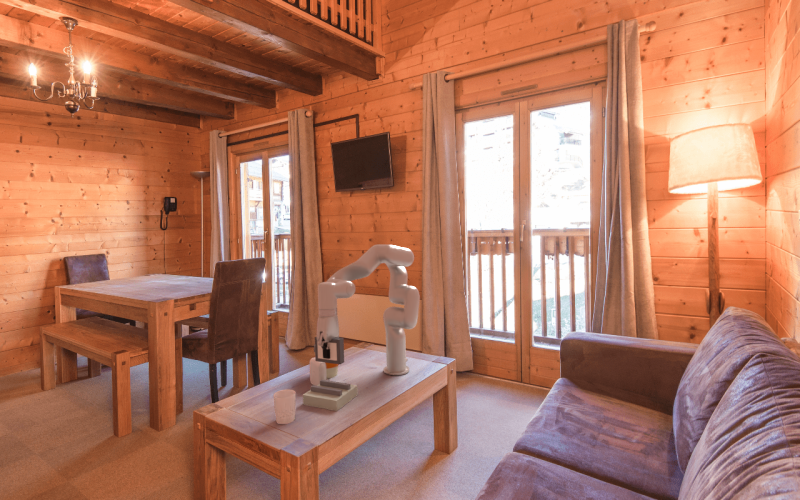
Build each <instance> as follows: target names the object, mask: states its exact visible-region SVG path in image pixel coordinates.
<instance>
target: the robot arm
mask: <svg viewBox="0 0 800 500" xmlns="http://www.w3.org/2000/svg"><path fill="white" fill-rule="evenodd" d="M414 254H415V253H414V252H413V251H412V249H410V248H407V247H403V246H402V247H401V246H399V245H393V244H374V245H372V246H371V247H369V248H368V250H367V251H365V252H364V253H363V254H362V255H361V256H360V257H359V258H358V259H357V260H355V261H354V262H351V263H350V264H348V265H345V266H344V267H342V268H340V269H338V270H337V271H336V272H335V273H333V274H332V275H331V276H330V277H329V278H328V279H327V280H326V281H323V282H320V283H318V285H317V300H318V301H317V302H318V303H317V304H318V317H317V323H316V336H317V341H319V342H318V345H320V346H321V347H322V349H323V358H325V359H330V349H329V341H331V339H332V338H335V337H339V338H340V324H339V317H338V299H348V298H351V297H352V296H354V294H355V293H356V284H354V282H353V281H355V280H361V279H364V278H367V277H369V276H370V275H371V274H372V273H374V271H375V270H376V269H377V268H378V267H379V266H380V265H381V264H385V265H386V267H387V269H388V271H389V275H390V276H389V277H390V278H389V287H388V289H389V290H388V300H389V302H390V303H392V304H395V305H401V306H404V307H399V306H389V307H387V308H386V309H385V310H384V311H383V315H382V316H383V317H382V318H383V324H384V329H385V330H384V331H385V354H386V358H385V359H386V360H385V362H386V366H385V367H384V368H383V373H385V374H386V375H388V376H402V375H406V374H408V373H409V372H410V367H409V366H408V365H407V362H408V361H409V360H408V358H407V352H406V350H407V349H406V348H407V346H406V344H407V343H406V333H405V330H412V329H414V328H415V327H416V326H417V324H418V320H419V311H420V300H421V296H420V291H419V289H418V288H417V287H416V286H413V285H408V279H409V277H408V276H409V275H408V271H407V269H406V267H407V268H408V267H410V266H412V265H413V263H414V260H415V255H414ZM324 340H325V341H324ZM325 343H326V344H325Z"/></svg>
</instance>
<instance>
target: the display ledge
mask: <svg viewBox="0 0 800 500" xmlns="http://www.w3.org/2000/svg"><path fill="white" fill-rule="evenodd" d="M358 389H359V388H358V385H357V384H351V383H347V382H339V381H334V380H328V379H327V380H321V381H320V384H319V385H318V386H315V385H313V384H311V386H310V390H308V391H305V393H303V394H302V405H303V406H309V407H313V408H314V407H315V408H319V409H325V410H330V411H334V412H335V411H336V412H338V411H339V410H340V409H342V408H343V407H344V406H345V405H346V404H348V403H349V402H351V400H353V399H354V398H355V397H357V396H358V395H359V393H358Z"/></svg>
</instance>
